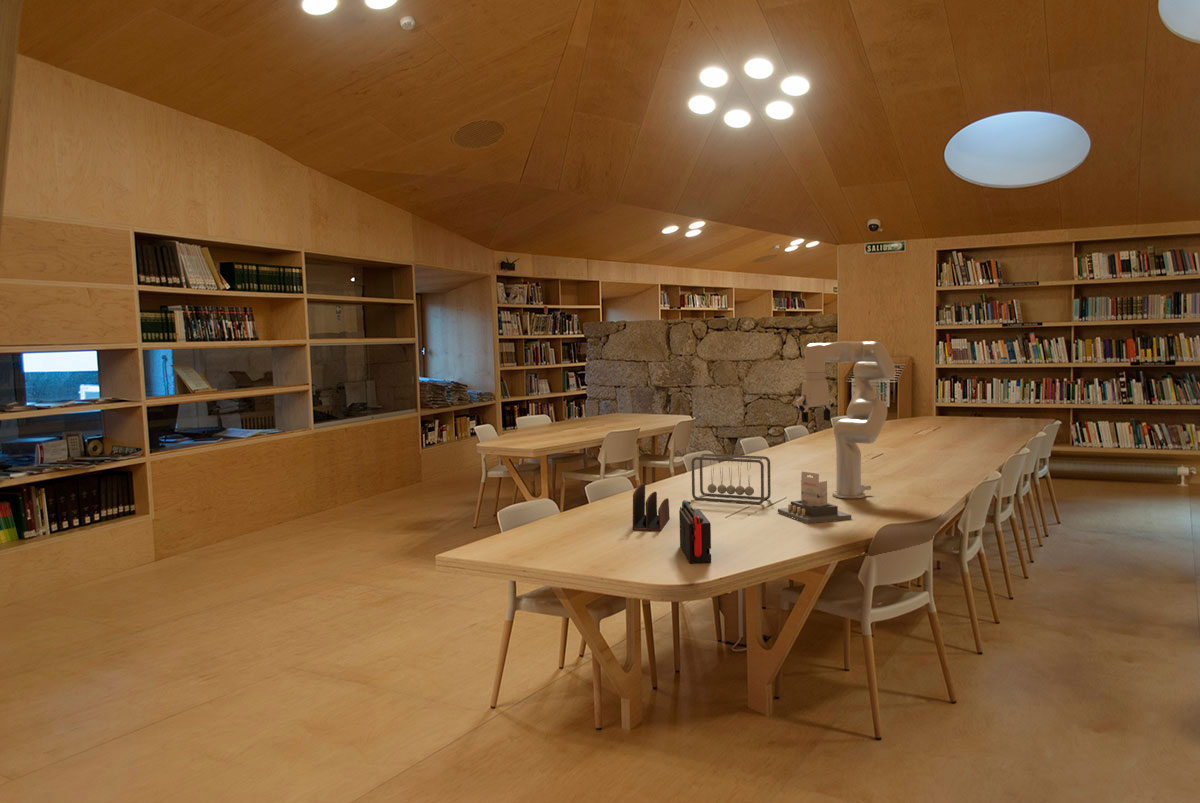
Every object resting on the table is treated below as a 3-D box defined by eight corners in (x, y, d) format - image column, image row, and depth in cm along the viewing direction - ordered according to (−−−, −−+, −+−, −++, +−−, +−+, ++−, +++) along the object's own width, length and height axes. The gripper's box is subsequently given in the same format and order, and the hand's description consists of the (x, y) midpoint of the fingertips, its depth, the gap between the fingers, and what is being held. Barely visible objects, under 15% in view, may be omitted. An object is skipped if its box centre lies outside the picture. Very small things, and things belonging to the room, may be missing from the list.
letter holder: (632, 531, 281) (631, 490, 280) (643, 518, 300) (642, 480, 299) (660, 532, 279) (660, 491, 278) (669, 519, 298) (669, 481, 297)
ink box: (828, 512, 295) (828, 472, 294) (819, 514, 292) (819, 474, 291) (809, 508, 302) (809, 469, 300) (800, 510, 299) (800, 471, 297)
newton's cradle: (691, 499, 332) (691, 456, 330) (700, 495, 341) (700, 453, 340) (763, 505, 318) (763, 460, 316) (770, 500, 327) (770, 456, 326)
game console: (678, 543, 262) (677, 499, 261) (697, 542, 262) (697, 498, 261) (691, 568, 234) (691, 518, 233) (713, 567, 234) (712, 517, 233)
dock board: (819, 508, 309) (819, 496, 308) (851, 518, 290) (851, 506, 290) (777, 512, 303) (777, 500, 303) (807, 523, 284) (807, 511, 284)
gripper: (828, 375, 316) (829, 418, 318) (790, 377, 310) (791, 422, 312) (840, 375, 309) (841, 420, 310) (801, 378, 303) (802, 424, 305)
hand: (816, 421), depth 311 cm, fingers open, 9 cm apart
